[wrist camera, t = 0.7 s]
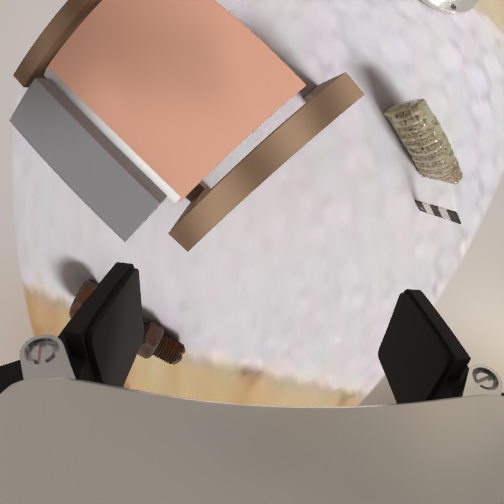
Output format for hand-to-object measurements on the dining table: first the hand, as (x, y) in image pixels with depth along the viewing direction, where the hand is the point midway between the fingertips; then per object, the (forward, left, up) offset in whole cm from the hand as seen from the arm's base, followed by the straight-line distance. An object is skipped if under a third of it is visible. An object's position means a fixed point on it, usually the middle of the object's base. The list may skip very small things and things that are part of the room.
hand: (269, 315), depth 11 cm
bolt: (+24, +2, -24) cm, 34 cm away
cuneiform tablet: (-15, +9, -24) cm, 29 cm away
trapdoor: (0, -12, -16) cm, 20 cm away
